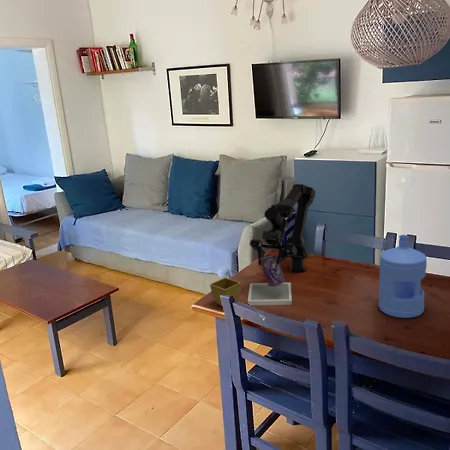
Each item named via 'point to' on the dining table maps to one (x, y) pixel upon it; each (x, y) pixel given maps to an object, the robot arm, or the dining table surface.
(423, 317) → the dining table surface
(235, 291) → the flower pot
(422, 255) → the water jug
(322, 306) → the dining table surface
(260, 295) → the tray
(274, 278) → the beverage can
